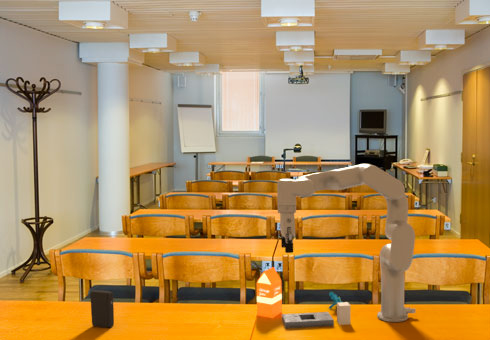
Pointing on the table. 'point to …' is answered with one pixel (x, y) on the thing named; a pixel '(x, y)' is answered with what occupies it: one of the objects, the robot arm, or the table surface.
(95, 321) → the card reader
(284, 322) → the grey peg hole board
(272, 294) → the orange juice
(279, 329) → the table surface
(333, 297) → the teal plastic figure
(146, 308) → the table surface
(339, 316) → the square peg
